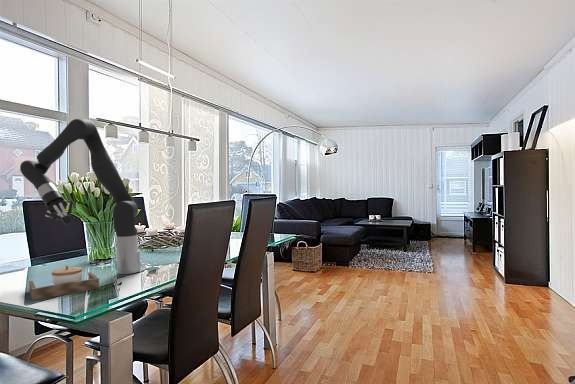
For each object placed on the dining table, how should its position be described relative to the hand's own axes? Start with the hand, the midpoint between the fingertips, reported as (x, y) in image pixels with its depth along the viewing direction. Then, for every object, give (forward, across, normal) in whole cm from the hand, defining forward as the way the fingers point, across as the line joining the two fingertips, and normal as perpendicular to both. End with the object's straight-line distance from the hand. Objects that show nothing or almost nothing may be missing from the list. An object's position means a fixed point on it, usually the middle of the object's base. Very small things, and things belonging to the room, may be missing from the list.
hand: (68, 224), depth 180 cm
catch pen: (+29, -15, -7) cm, 34 cm away
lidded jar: (+30, -14, -7) cm, 34 cm away
